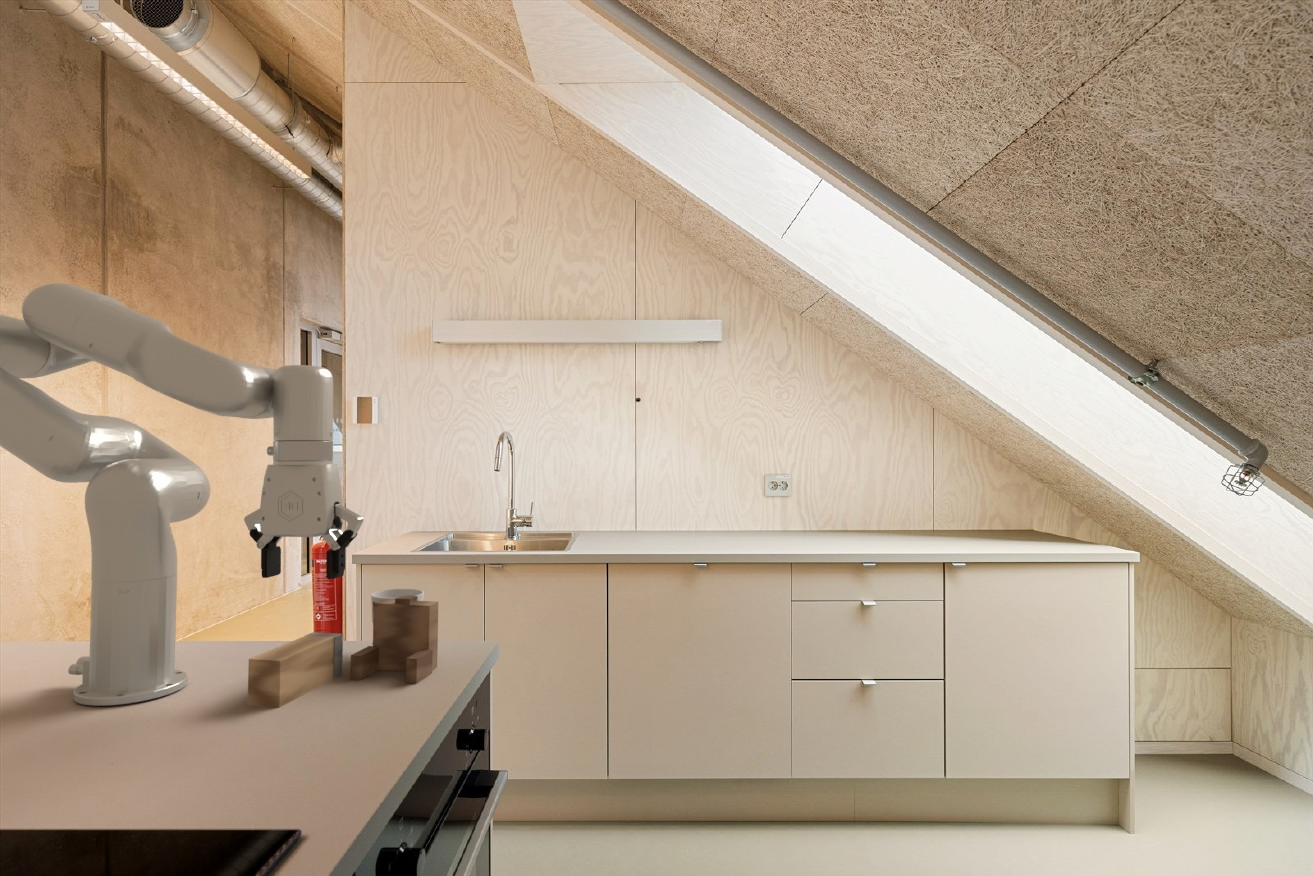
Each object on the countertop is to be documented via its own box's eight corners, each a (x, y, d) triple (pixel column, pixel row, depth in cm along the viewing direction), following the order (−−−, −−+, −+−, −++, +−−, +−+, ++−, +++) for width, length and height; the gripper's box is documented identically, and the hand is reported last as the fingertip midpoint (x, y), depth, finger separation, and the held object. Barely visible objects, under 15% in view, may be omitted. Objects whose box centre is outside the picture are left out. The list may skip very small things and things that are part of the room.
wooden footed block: (350, 679, 105) (351, 604, 105) (378, 663, 113) (380, 593, 113) (416, 683, 104) (418, 607, 104) (440, 667, 112) (442, 596, 112)
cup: (359, 660, 115) (360, 596, 115) (386, 646, 123) (388, 587, 123) (407, 663, 113) (408, 599, 113) (431, 649, 121) (432, 589, 121)
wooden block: (246, 705, 94) (247, 659, 94) (312, 672, 108) (312, 632, 108) (280, 707, 94) (281, 661, 94) (342, 674, 107) (342, 633, 108)
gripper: (228, 454, 99) (227, 580, 99) (346, 454, 96) (345, 583, 96) (265, 454, 106) (264, 571, 106) (375, 454, 104) (375, 573, 104)
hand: (303, 577), depth 101 cm, fingers open, 9 cm apart
